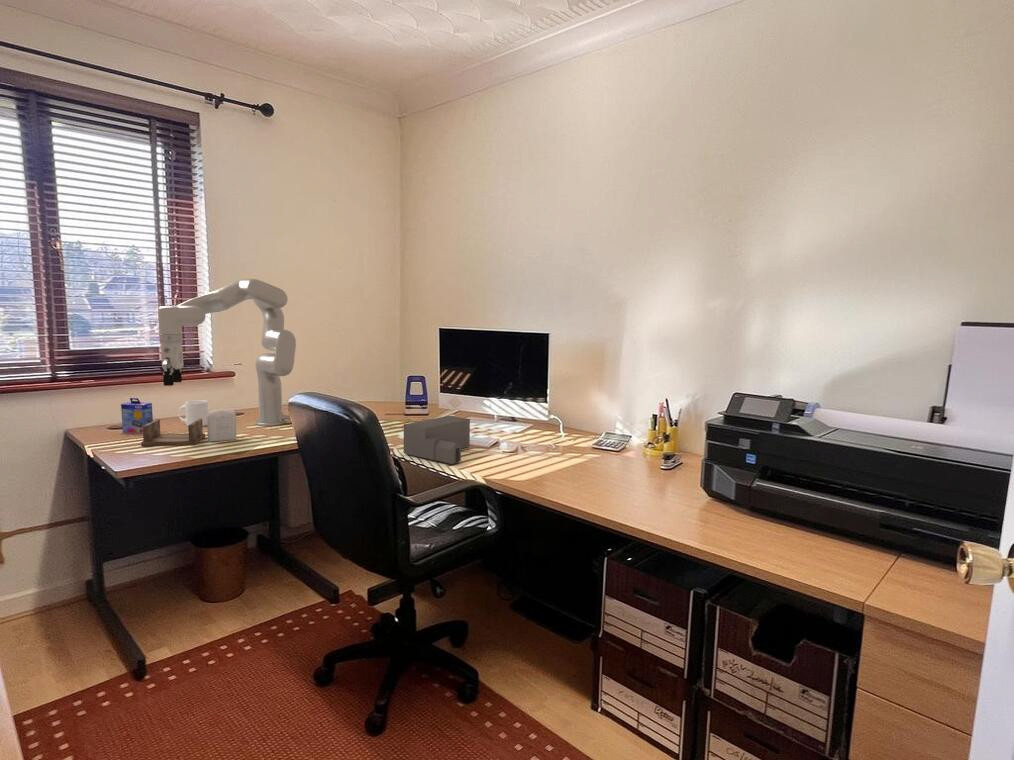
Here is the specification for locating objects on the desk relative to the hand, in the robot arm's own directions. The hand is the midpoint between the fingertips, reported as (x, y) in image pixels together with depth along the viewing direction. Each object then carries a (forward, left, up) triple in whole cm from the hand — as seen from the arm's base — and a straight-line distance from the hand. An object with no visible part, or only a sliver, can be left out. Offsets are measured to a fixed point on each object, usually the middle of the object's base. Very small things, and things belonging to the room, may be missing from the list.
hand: (172, 383), depth 218 cm
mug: (+2, -31, -23) cm, 38 cm away
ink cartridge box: (+19, -19, -23) cm, 35 cm away
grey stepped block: (-102, +30, -23) cm, 109 cm away
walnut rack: (0, 0, -22) cm, 22 cm away
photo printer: (-17, 0, -23) cm, 28 cm away
